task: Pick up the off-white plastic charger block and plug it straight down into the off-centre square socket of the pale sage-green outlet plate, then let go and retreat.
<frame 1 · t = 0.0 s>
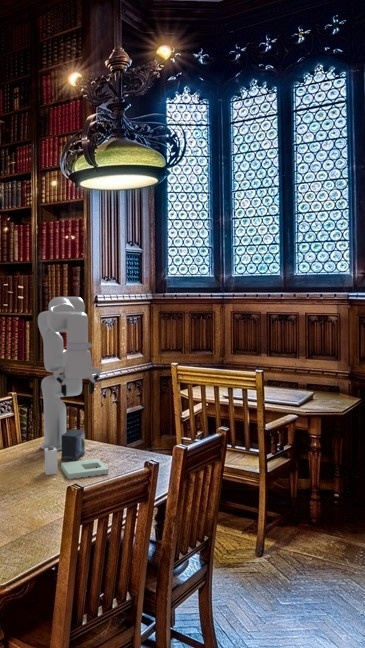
hand: (77, 394, 201), 31 cm above the table, tool pointing down, fingers open, 9 cm apart
outlet plate: (84, 471, 211), on the table
small box: (73, 457, 229), on the table
charger: (51, 472, 209), on the table
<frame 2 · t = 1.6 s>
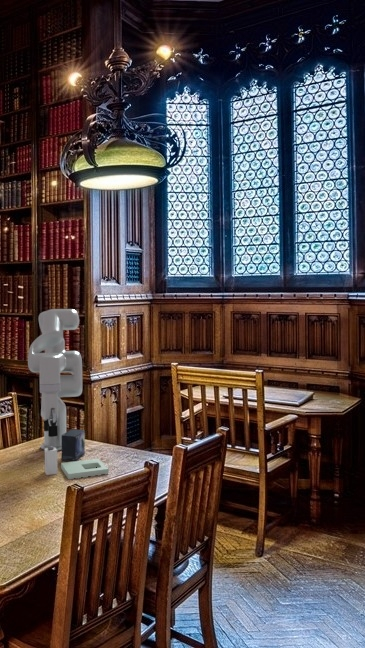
hand: (50, 433, 208), 15 cm above the table, tool pointing down, fingers open, 9 cm apart
nothing on the table moved.
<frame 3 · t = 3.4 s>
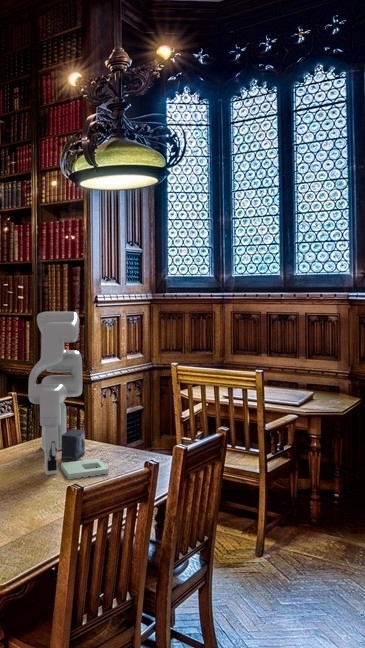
hand: (51, 468, 209), 2 cm above the table, tool pointing down, fingers closed on charger, 4 cm apart
charger: (51, 472, 209), on the table, touching gripper
everything else where it was.
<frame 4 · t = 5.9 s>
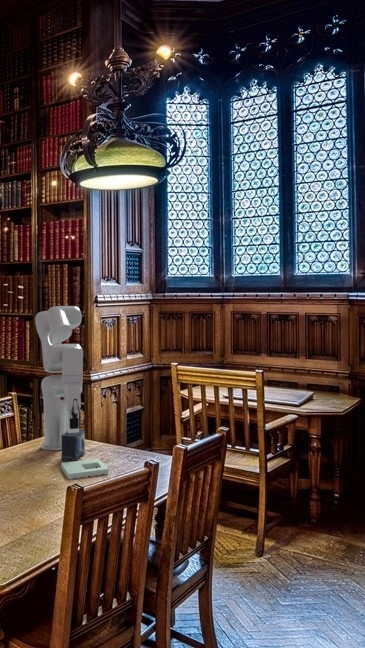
hand: (73, 426, 209), 17 cm above the table, tool pointing down, fingers closed on charger, 4 cm apart
charger: (72, 431, 209), point 16 cm above the table, touching gripper
everything else where it was.
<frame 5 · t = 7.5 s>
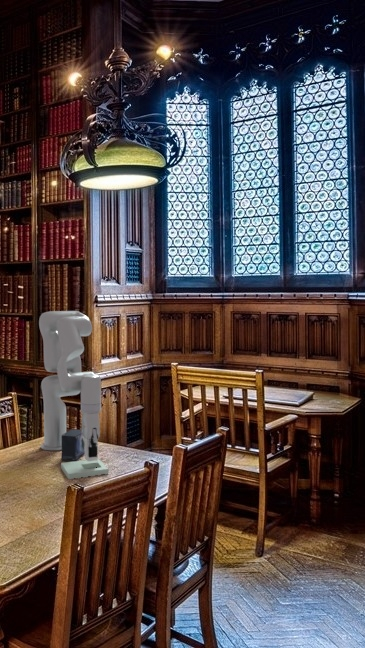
hand: (91, 454, 211), 6 cm above the table, tool pointing down, fingers closed on charger, 4 cm apart
charger: (91, 459, 211), point 5 cm above the table, touching gripper
everything else where it was.
when the fingers open (3 cm above the table, at t = 8.5 s): charger stays where it is, resting in outlet plate.
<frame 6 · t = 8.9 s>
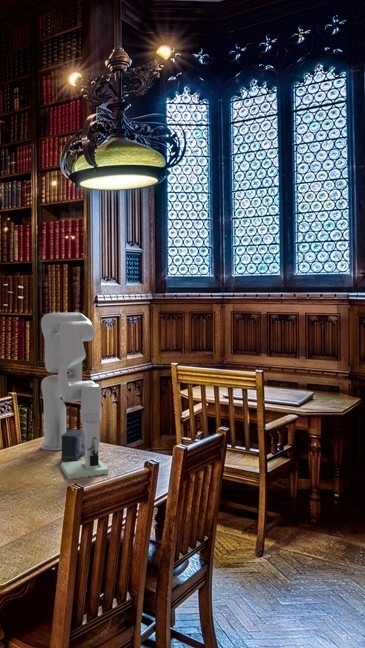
hand: (91, 462, 211), 3 cm above the table, tool pointing down, fingers open, 8 cm apart
charger: (91, 471, 212), resting in outlet plate
everything else where it was.
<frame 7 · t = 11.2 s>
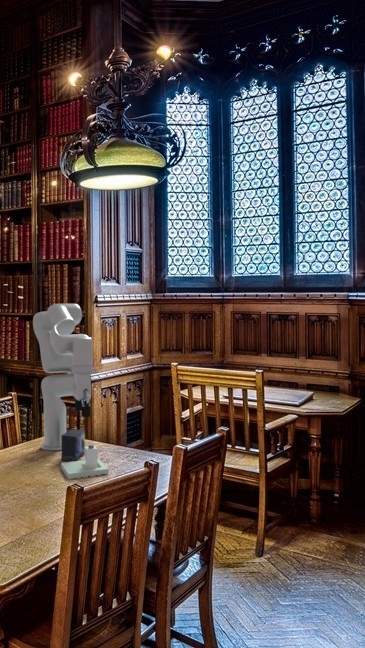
hand: (82, 413, 212), 22 cm above the table, tool pointing down, fingers open, 9 cm apart
nothing on the table moved.
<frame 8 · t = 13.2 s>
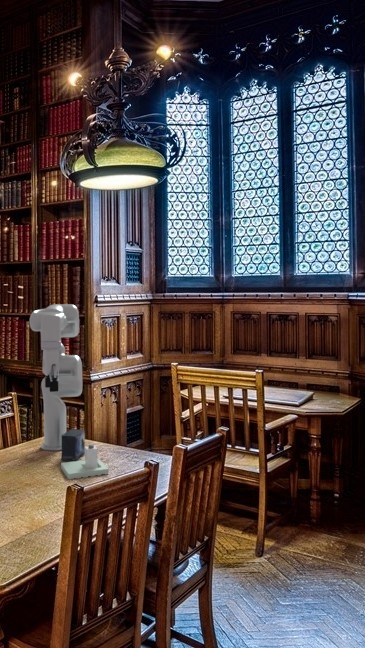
hand: (51, 389, 216), 30 cm above the table, tool pointing down, fingers open, 9 cm apart
nothing on the table moved.
at the end: charger 0.1 cm from the target spot on the outlet plate, point 0.0 cm above the outlet plate's base; charger tilted 0°; the gripper is holding nothing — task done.
